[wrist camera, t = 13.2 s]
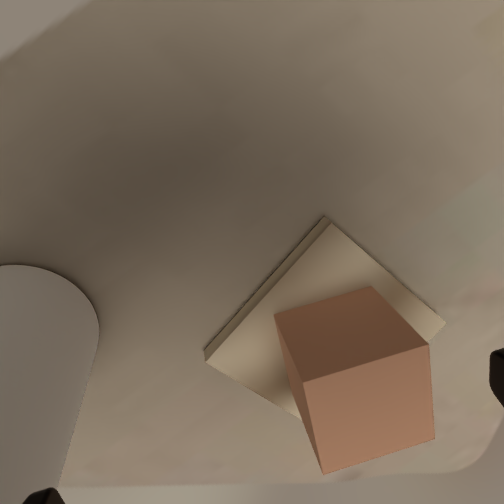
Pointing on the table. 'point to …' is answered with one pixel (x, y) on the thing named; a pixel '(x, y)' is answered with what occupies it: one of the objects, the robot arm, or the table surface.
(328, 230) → the coaster
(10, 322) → the can
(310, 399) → the cube
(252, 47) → the table surface
